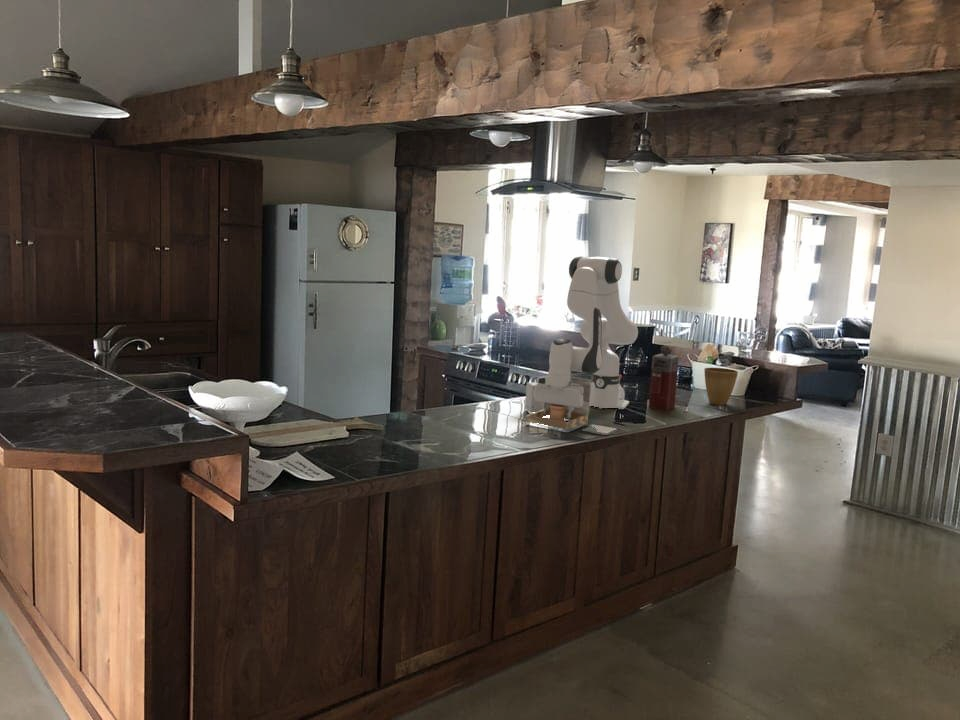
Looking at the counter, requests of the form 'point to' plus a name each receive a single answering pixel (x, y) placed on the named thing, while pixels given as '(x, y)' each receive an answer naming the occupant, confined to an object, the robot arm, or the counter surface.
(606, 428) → the stone paver
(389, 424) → the counter surface
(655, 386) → the red liquid bottle
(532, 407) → the supplement box
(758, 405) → the counter surface
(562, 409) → the terracotta pot
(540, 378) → the robot arm
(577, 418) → the cold frame
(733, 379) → the plant pot
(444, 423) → the counter surface
